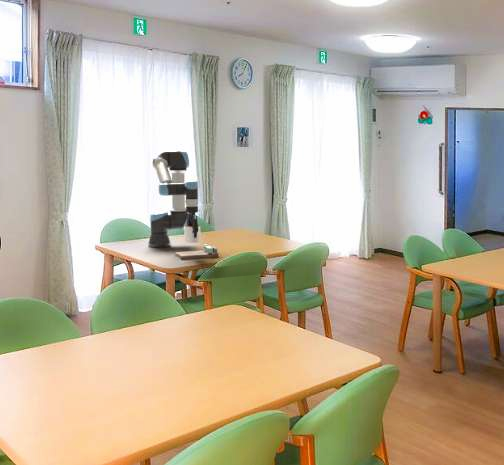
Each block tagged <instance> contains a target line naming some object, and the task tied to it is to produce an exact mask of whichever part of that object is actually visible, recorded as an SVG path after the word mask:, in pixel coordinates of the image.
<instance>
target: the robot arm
mask: <svg viewBox="0 0 504 465" xmlns="http://www.w3.org/2000/svg"><path fill="white" fill-rule="evenodd" d="M152 167H153V169H154V170H155V171H156V175H157V177H158V181H159V184H158V194H159V195H160V196H164V197H165V196H166V197H169V196H172V197H171V198H172V199H171V200H172V201H171V202H172V203H171V204H172V207H171V209H170V212H168V211H167V210H159V211H155V212H152V213H151V214H150V217H149V221H150V222H149V223H150V236H149V238H148V242H147V243H148V247H150V248H165V247H170V246H171V240H170V237H169V234H168V233H169V232H168V231H174V230H184V226H186V225H188V226H189V227H191V226H192V227H193V231H192V233H193V243H192V244H197V243H198V242H197V232H198V225H199V224H198V215H196V213H198V212H199V184H198V181H197V180H186V181H185V173H186V171H187V168H189V167H190V159H189V155H188V153H187V151H186V150H180V149H178V150H177V149H176V150H166V149H165V150H162V151H159V152H157V153H156V154H155V156H153V159H152ZM170 174H171V175H170Z"/></svg>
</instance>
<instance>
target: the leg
mask: <svg viewBox="0 0 504 465" xmlns="http://www.w3.org/2000/svg"><path fill="white" fill-rule="evenodd" d="M203 246H204V247H203V250H205V251H206V252H207V253H213V248H212V247H213V246H210V245H209V244H208V243H207V244H206V243H205V244H204V245H203Z"/></svg>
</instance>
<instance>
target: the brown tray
mask: <svg viewBox="0 0 504 465" xmlns="http://www.w3.org/2000/svg"><path fill="white" fill-rule="evenodd" d="M211 247H212V248H213V253H207V252H206V251H205V250H204V249H202V250H201V249H200V250H189V251H177V252H174V253H175V255H174V256H175V257H177V258H179V259H180V260H192V259H194V260H195V259H204V258H205V259H207V258H218V257H219V253H218V248H217V247H216V246H214V245H213V246H211Z"/></svg>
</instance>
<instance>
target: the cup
mask: <svg viewBox="0 0 504 465" xmlns="http://www.w3.org/2000/svg"><path fill="white" fill-rule="evenodd" d="M192 231H193V227H192V226H191V227H189V226H188V225H186V226H184V229H183V232H184V235H183V237H184V242H185V243H189V244H194V243H193V233H192ZM201 237H202V236H201V225H200V224H198V232H197V243H199V242H201Z"/></svg>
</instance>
